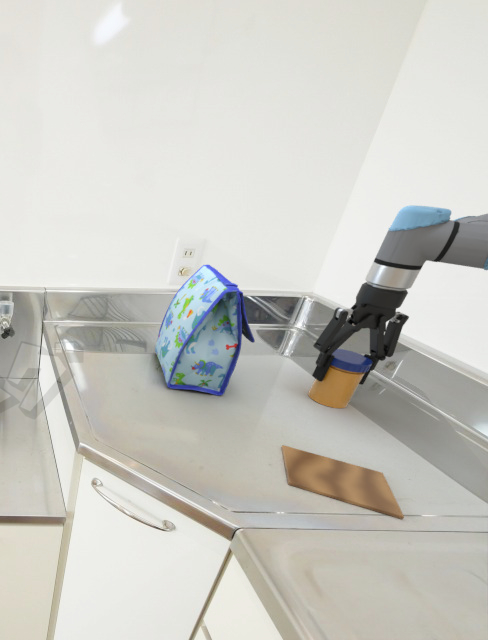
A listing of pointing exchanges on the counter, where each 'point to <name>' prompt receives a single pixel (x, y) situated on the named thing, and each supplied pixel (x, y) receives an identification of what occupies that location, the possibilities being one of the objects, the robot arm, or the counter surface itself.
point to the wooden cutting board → (340, 481)
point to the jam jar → (335, 387)
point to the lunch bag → (203, 333)
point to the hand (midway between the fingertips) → (337, 380)
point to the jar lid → (351, 361)
